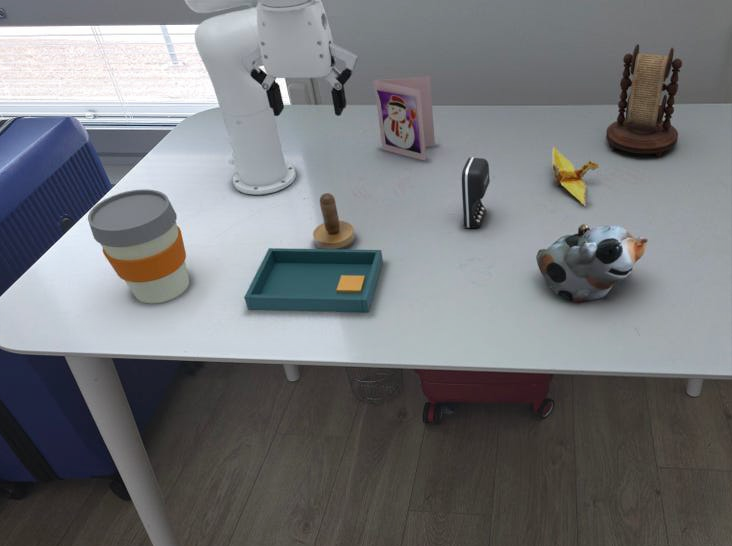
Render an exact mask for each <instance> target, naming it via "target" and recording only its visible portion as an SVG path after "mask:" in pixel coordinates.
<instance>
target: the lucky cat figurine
mask: <svg viewBox="0 0 732 546" xmlns="http://www.w3.org/2000/svg"><path fill="white" fill-rule="evenodd" d="M648 240H649V239H648V238H646V237H641V236H638V237H637V238H635V237H634V236H633V235H632V234H631V232H629V231H628V230H626V229H625V228H623V227H622V226H617V225H605V226H596V227H592V228H591V229H590V226H589V225H588V224H586V223H583V224H581V225H580V226H578V229H577V233H574V234H573V233H572V234H566V235H563V236H560V237H559V238H558V239H556V240H555V242H553V243H552V244H551V245H550V246H548V247H547V248H541V249H539V250H538V251H537V253H536V256H535V257H536V264H537V267H538V269H539V271H540V273H541V275H542V277H543V279H544V281H545V282H546V284H547V285H548V286H549V288H551V290H552V291H553V292H554V293H555V294H556V295H558V296H566V298H567V299H568V300H569V301H572V302H574V303H578V302H579V303H580V302H585V301H592V300H593V301H594V300H598V299H599V300H600V299H602V298H605V297H606V296H607V294H608V293H609V292H610V290H611V289H612V288H613V286H614V285H615V283H618V282H620V281H621V282H622V281H623V280H624V279H625V278H627V277H628V276H629V275H631V273H632V271H633V269H634V267H635V266H636V263H637V261H639V260H640V259H641V258H642V257H643V256H644V254H645V250H646V248H647V245H648Z"/></svg>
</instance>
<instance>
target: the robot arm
mask: <svg viewBox="0 0 732 546" xmlns="http://www.w3.org/2000/svg"><path fill="white" fill-rule="evenodd" d="M183 1H184V2H185V4H186V5H187V7H188V8H189V9H190V10H191V11H193V12H194V13H198V14H208V13H214V12H219V11H224V10H227V9H228V10H229V9H233V8H237V7H241V6H245V5H246V6H248V7H249V8H246V9H245V8H244V9H242V10H236V11H231V12H227V13H222V14H219V15H215V16H212V17H209V18H207V19H205V20H202V22H200V23H199V24H198V25H197V27H196V28H195V32H194V42H195V47H196V51H197V52H198V55H199V56H200V59H201V62H202V64H203V65H204V68H205V70H206V72H207V74H208V77H209V80H210V82H211V84H212V87H213V90H214V94H215V97H216V100H217V103H218V107H219V110H220V113H221V116H222V120H223V124H224V127H225V131H226V133H227V137H228V141H229V144H230V148H231V151H232V153H231V154H232V156H229V157H228V158H227V162H228V164H231V165H233V166H234V168H235V174H234V175H233V177H232V183H233V187H234V188H235V189H236V191H238V192H241V193H243V194H246V195H254V196H259V195H267V194H268V195H269V194H273V193H276V192H280V191H281V190H284V189H285V188H287V187H288V186H290V185H292V183H293V182H295V179H296V177H297V175H296V174H297V173H296V169H295V167H294V166H293V165H292V164H290V163H289V162H286V160H285V156H284V155H285V154H284V151H283V147H282V141H281V138H280V133H279V129H278V125H277V120H276V117H279V116H280V115H281V114H282V112H283V111H284V109H285V105H284V101H283V96H282V91H281V87H280V84H279V83H278V82H276V79H320V78H324V79H325V80H326V81H327V82H328V83H329V84H330V85H331V86H332V89H331V99H332V104H333V108H334V109H333V110H334V115H335V116H337V117H341V115H342V113H343V112H344V110H345V109H346V108H347V99H346V91H345V87H344V86H345V84H346V83H347V82H348V80H349V79H351V77H352V75H353V73H354V70H355V67H356V64H357V61H358V56H357V54H355V53H353V52H351V51H349V50H348V49H345V48H343V47H341V46H339V45H337V44H335V43H334V39H333V34H332V31H331V27H330V24H329V21H328V17H327V13H326V10H325V7H324V4H323V3H322V0H183ZM337 60H340V61H342V62H344V64H345V66H344V69H343V70H342V71H340V70H339V69H338V68H337V67H336V64H337ZM261 67H263V70H262V69H261Z"/></svg>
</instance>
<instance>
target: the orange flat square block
mask: <svg viewBox="0 0 732 546" xmlns="http://www.w3.org/2000/svg"><path fill="white" fill-rule="evenodd" d="M364 282H365V276H349V275H341V278H340V281H339V284H338V287H337V293H361V291H362V288H363V285H364Z"/></svg>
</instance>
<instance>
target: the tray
mask: <svg viewBox="0 0 732 546" xmlns="http://www.w3.org/2000/svg"><path fill="white" fill-rule="evenodd" d="M383 264H384V259H383V251H382V249H350V248H348V249H318V248H286V247H285V248H284V247H283V248H281V247H280V248H279V247H274V248H273V247H269V248H268V249H267V251H266V253H265V255H264V257H263V259H262V261H261V263H260V265H259V267H258V269H257V270H256V273H255V274H254V277H253V279H252V281H251V283H250V285H249V287H248V288H247V291H246V293H245V294H244V297H243V298H244V302H245V304H246V307H247V310H248V311H276V312H277V311H282V312H283V311H284V312H320V313H321V312H327V313H328V312H329V313H367V314H368V313H370V310H371V306H372V302H373V299H374V295H375V292H376V289H377V285H378V281H379V278H380V274H381V271H382V267H383ZM341 275H349V276H365V282H364V285H363V288H362V291H361V293H337V287H338V284H339V281H340V278H341Z"/></svg>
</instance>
